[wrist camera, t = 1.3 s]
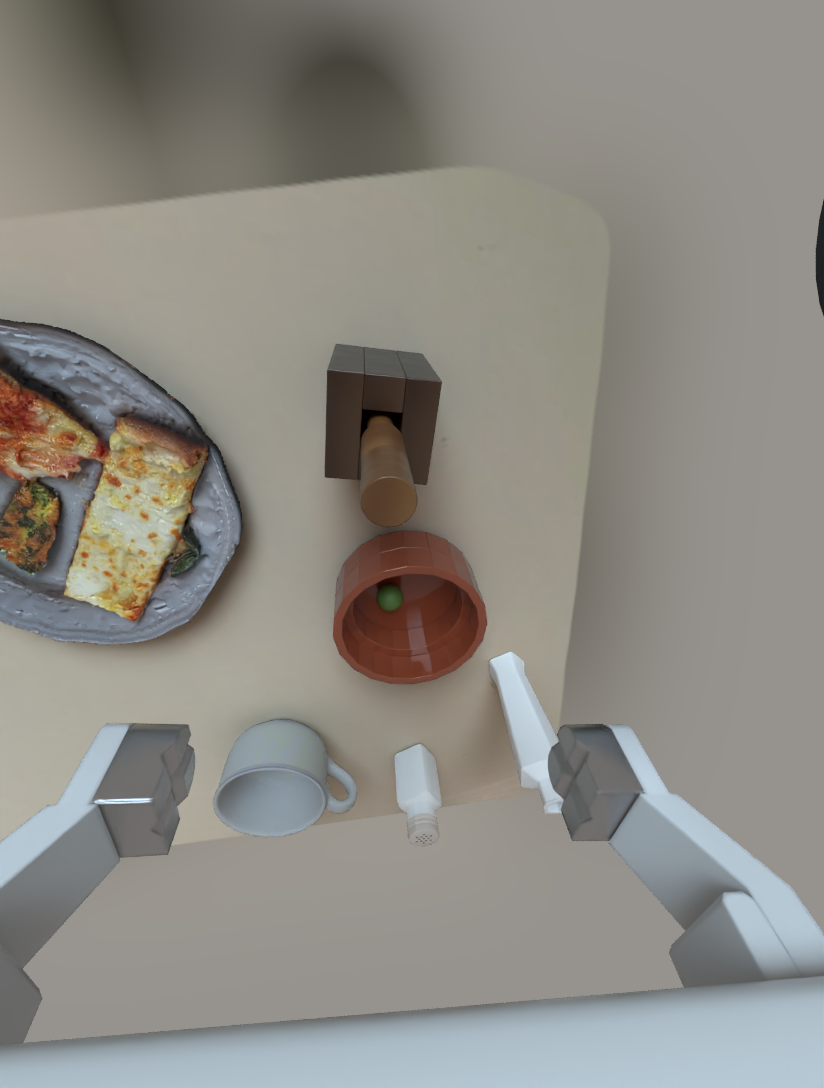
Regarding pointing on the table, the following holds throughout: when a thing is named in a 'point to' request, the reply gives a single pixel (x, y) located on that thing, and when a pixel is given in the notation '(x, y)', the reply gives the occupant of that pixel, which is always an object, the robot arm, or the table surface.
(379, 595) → the bead
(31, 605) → the food plate
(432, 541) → the bowl
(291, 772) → the teacup
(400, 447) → the stirring stick
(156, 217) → the table surface
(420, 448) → the utensil block
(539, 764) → the white faceted bottle
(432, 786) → the salt shaker
